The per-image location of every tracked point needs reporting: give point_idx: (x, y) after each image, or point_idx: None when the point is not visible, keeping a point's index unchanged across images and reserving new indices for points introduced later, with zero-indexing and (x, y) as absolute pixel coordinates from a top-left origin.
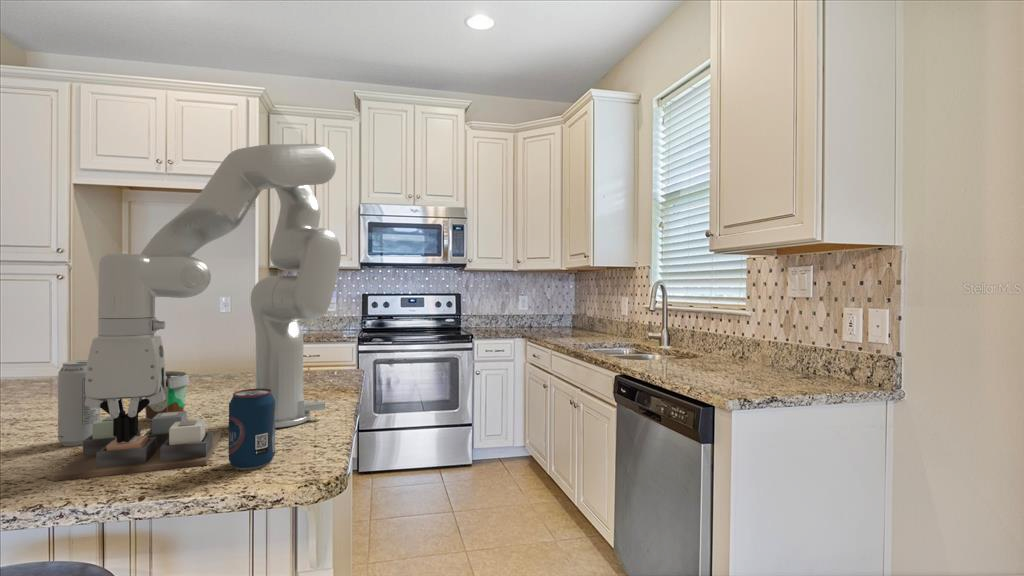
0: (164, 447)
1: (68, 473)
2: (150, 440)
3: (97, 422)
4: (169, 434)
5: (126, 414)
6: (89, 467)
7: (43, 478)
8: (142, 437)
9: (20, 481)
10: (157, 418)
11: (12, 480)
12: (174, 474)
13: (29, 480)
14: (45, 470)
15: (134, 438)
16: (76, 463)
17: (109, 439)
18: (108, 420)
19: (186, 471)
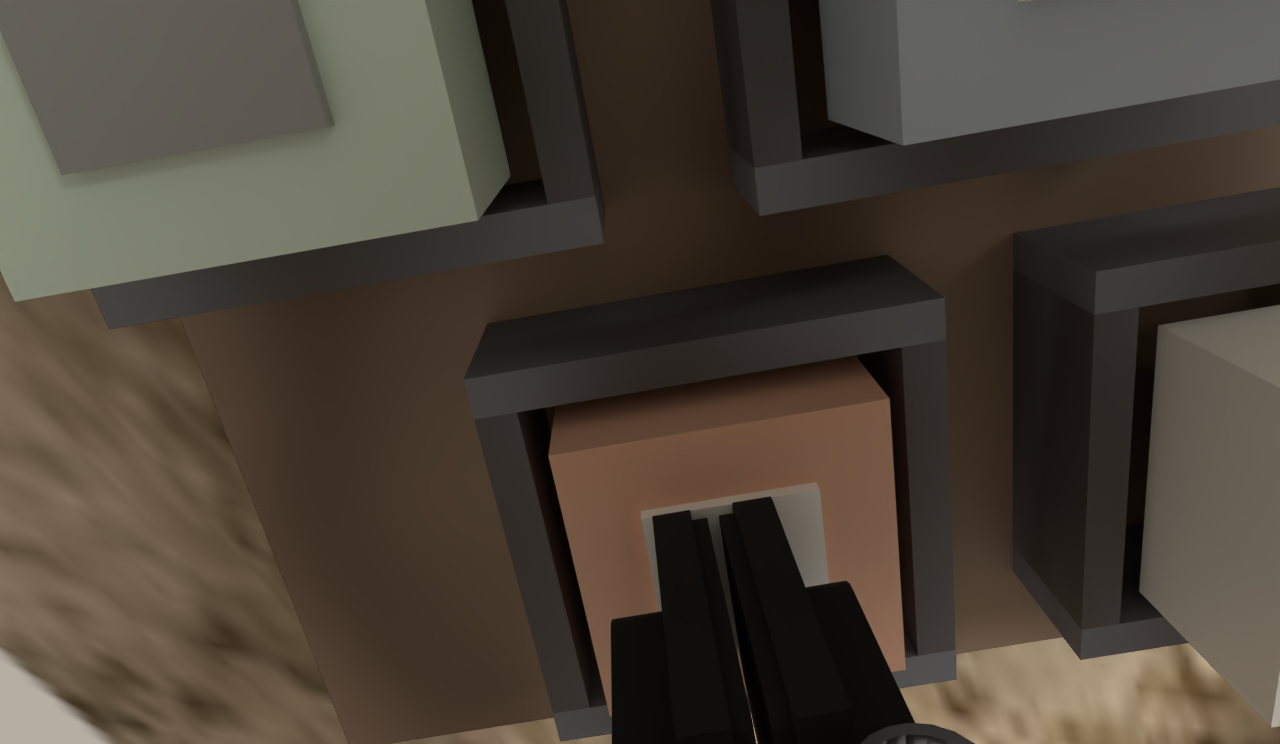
0: (1109, 649)
1: (427, 719)
2: (918, 435)
3: (34, 225)
4: (1222, 675)
5: (731, 742)
6: (501, 621)
7: (239, 653)
8: (853, 475)
9: (119, 684)
10: (990, 106)
11: (37, 659)
12: (1128, 706)
13: (168, 675)
14: (96, 489)
15: (801, 560)
16: (319, 512)
17: (388, 279)
18: (163, 156)
19: (1199, 666)
